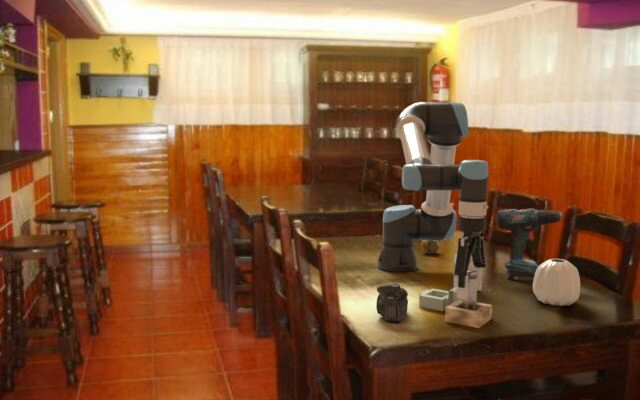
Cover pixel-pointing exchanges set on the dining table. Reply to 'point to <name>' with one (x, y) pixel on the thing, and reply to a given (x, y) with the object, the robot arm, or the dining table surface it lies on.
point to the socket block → (437, 298)
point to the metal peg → (471, 291)
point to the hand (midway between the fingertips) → (469, 293)
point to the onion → (430, 246)
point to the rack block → (468, 314)
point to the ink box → (468, 269)
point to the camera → (392, 302)
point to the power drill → (523, 237)
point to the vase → (557, 282)
